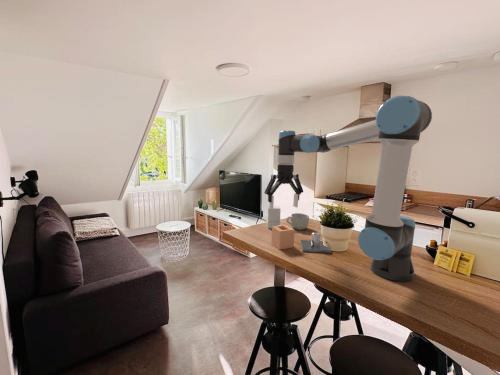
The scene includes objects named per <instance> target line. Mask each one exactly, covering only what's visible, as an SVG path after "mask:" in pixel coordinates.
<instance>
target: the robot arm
mask: <svg viewBox="0 0 500 375" xmlns="http://www.w3.org/2000/svg"><path fill="white" fill-rule="evenodd" d="M432 119H433V113H432V109H431V108H430V106H429V105H428V104H427V103H425V102H424V101H421V100H419V99H417V98H415V97H413V96H410V95H396V96H392V97H390V98H388V99H387V100H386V101H384V102H383V103H382V104H381V105H380V107H378V110H377V111H376V114H375V119H374V120H370V121H367V122H363V123H360V124H357V125H353V126H350V127H346V128H342V129H339V130H336V131H333V132H329V133H325V134H323V135H315V134H297V133H296V131H295V130H280V131H279V134H278V135H279V136H278V141H277V142H278V149H277V150H278V152H277V154H278V155H277V163H278V164H277V174H275V173H274V174H273V173H272V174H271V175H270V179H269V182H268V184H267V187H266V188H265V190H264V194H265V195H267V202H268V204H269V205H268V206H269V208H270V209H272V210H273V206H274V201H275V196H274V193H275V192H276V191H277V189H279V187H280V186H281V185H287V184H289V185H290V187H291V188H292V190H293V191H294V193H293V203H292V204H293V205H292V207H294V208H298V206H299V205H298V204H299V201H300V195H302V193H304V189H303V186H302V184H301V181H300V179H299V178H300V175H299V174H298V173H294V163H295V153H296V152H297V153H306V154H310V153H329V152H331V151H333V150H337V149H341V148H344V147H349V146H354V145H358V144H362V143H367V142H372V141H377V140H378V141H379V142H380V144H381V145H382V146H381V150H380V152H381V154H380V159H379V165H378V172H377V178H376V184H375V191H374V198H373V202H372V203H373V204H372V210H371V213H369V214H368V215H367V216H366V218H365V225H364V228H363V229H361V230H360V232H359V234H358V235H357V236H358V237H357V243H358V244H357V245H358V247H359V248H360V249H361V251H362V252H363V254H364V255H366V256H367V258H370V259H372V260H371V263H370V270H371V271H372V272H373V274H375V275H377V276H378V277H381V278H383V279H385V280H388V281H389V280H390V281H393V282H411V281H413V279H414V278H415V269H414V268H415V267H414V265H413V259H412V252H413V251H412V250H413V242H414V236H415V229H416V221H415V220H414V219H413V218H412V217H408V216H403V215H401V211H402V205H403V201H404V195H405V188H406V184H407V178H408V173H409V172H408V171H409V167H410V163H411V162H410V161H411V155H412V150H413V147H414V146H415V145H416V144H418V143H419V142H420V138H421V133H423V132H424V131H425V130H426V129H428V127H429V125H430V124H431V122H432Z"/></svg>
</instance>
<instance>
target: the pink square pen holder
mask: <svg viewBox="0 0 500 375" xmlns="http://www.w3.org/2000/svg"><path fill="white" fill-rule="evenodd" d="M270 241H271V243H270V244H271V245H272V246H274V247H275V248H276V249H278V250H284V249H285V250H286V249H292V248H294V243H295V228H292V226H291V227H290V226H288V225H287V224H282V225H281V224H280V225H278V226H272V229H271V240H270Z"/></svg>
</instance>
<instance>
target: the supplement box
mask: <svg viewBox="0 0 500 375" xmlns="http://www.w3.org/2000/svg"><path fill="white" fill-rule="evenodd" d="M278 225H281V206H280V205H273V210H272V209H270V208H269V205H268V207H267V229H271V230H272V226H278Z"/></svg>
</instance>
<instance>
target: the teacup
mask: <svg viewBox="0 0 500 375" xmlns="http://www.w3.org/2000/svg"><path fill="white" fill-rule="evenodd" d="M289 219H290V221H289ZM309 220H310V216H309V215H308V214H305V213H300V212H298V213H297V212H295V213H291V216H286V221H285V222H287V223H288V225H290V226H291V227H293V229H294V230H300V231H302V230H305V229H306V228H308V226H309Z"/></svg>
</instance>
